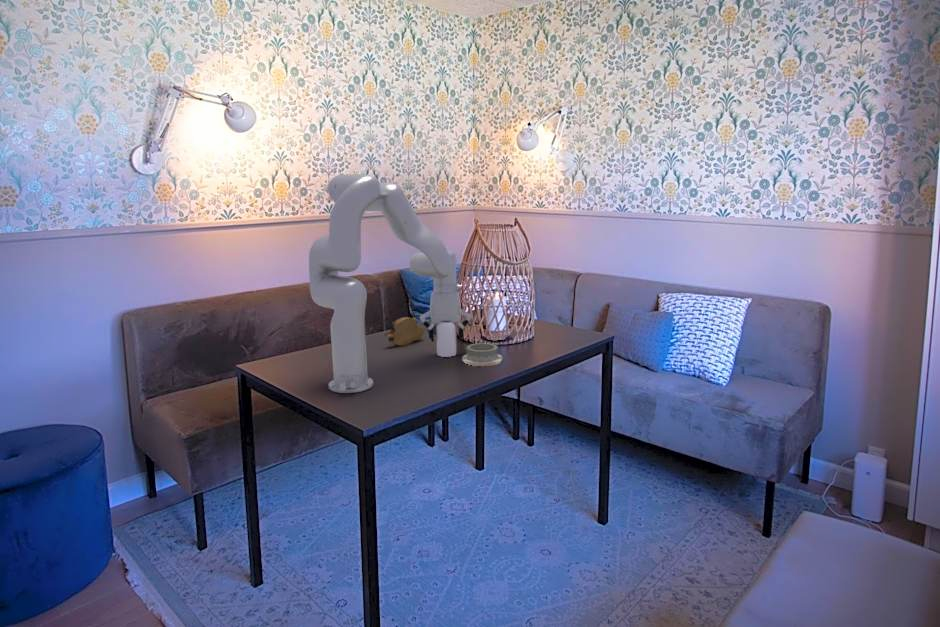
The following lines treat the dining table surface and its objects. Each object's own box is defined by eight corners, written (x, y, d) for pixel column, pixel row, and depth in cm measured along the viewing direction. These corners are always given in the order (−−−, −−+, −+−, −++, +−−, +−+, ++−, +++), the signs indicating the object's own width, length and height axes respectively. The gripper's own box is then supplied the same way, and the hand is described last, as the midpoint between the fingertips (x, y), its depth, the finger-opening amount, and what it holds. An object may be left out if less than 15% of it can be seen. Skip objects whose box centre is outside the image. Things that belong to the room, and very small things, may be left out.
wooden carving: (416, 338, 234) (415, 312, 232) (425, 340, 231) (424, 313, 229) (383, 348, 222) (381, 320, 220) (391, 350, 219) (390, 322, 217)
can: (457, 352, 215) (456, 317, 212) (455, 358, 209) (454, 322, 206) (438, 352, 216) (437, 317, 213) (435, 357, 209) (434, 322, 207)
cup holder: (505, 365, 200) (505, 351, 199) (463, 367, 198) (463, 353, 198) (499, 354, 212) (499, 341, 211) (460, 355, 211) (460, 342, 210)
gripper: (470, 286, 212) (471, 336, 215) (418, 287, 210) (419, 338, 214) (472, 290, 204) (473, 342, 208) (418, 291, 203) (420, 344, 207)
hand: (446, 340), depth 211 cm, fingers open, 8 cm apart
